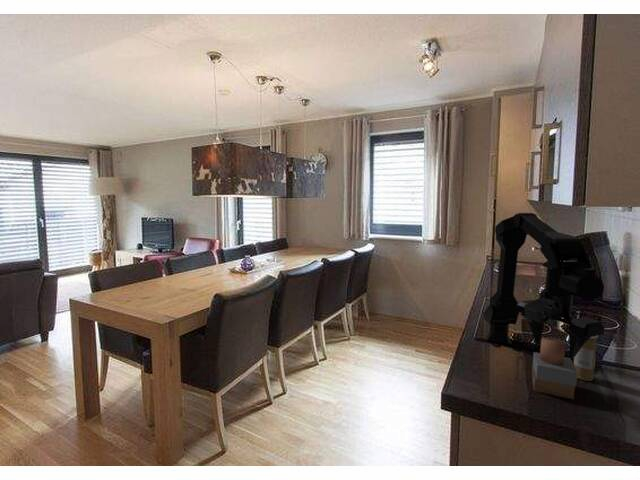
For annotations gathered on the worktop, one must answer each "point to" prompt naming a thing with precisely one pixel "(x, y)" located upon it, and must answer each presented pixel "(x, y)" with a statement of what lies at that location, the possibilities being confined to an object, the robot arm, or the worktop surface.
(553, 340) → the orange clay cylinder
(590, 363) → the sprinkles bottle
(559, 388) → the beige square block
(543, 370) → the grey top block
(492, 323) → the robot arm
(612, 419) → the worktop surface
